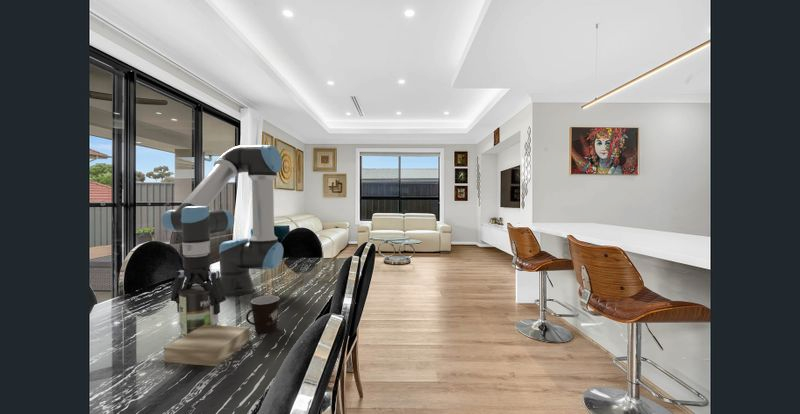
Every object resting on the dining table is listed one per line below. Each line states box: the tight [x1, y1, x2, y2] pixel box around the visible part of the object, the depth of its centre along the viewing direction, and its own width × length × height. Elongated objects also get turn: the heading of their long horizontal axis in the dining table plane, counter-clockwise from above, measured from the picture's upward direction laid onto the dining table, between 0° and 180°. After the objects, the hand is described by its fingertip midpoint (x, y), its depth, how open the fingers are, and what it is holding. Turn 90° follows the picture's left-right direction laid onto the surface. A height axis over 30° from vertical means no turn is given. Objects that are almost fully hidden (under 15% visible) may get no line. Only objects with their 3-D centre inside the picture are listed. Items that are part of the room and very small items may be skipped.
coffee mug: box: [245, 294, 280, 335], centre depth 107 cm, size 12×9×10 cm
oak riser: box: [163, 324, 251, 367], centre depth 94 cm, size 15×15×4 cm
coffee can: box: [179, 284, 218, 338], centre depth 106 cm, size 10×10×14 cm
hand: (199, 323), depth 107 cm, fingers closed on coffee can, 10 cm apart
